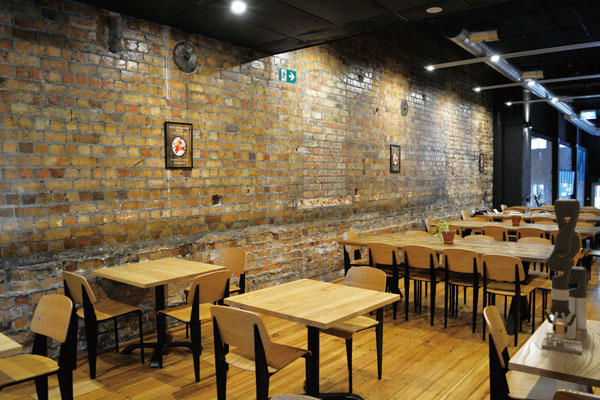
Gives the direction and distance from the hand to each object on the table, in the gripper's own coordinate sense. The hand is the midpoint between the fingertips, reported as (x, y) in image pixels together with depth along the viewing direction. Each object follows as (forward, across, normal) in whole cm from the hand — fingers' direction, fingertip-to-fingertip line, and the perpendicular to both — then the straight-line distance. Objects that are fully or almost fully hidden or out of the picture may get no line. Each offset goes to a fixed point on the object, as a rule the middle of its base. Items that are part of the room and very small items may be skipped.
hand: (559, 332), depth 215 cm
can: (+7, -2, -16) cm, 17 cm away
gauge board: (+7, -1, +2) cm, 7 cm away
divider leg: (+5, 0, +2) cm, 5 cm away
